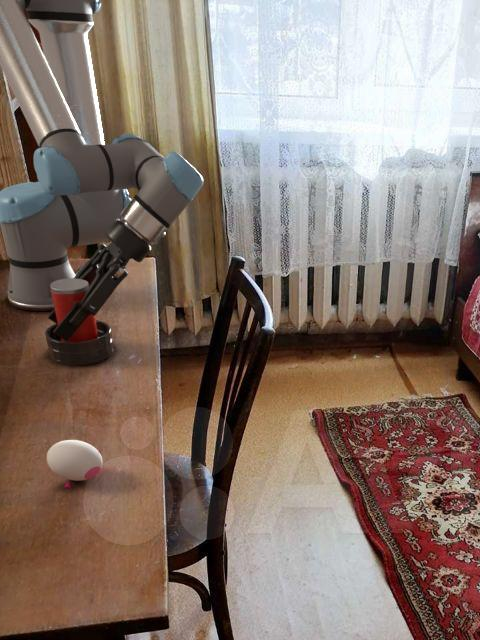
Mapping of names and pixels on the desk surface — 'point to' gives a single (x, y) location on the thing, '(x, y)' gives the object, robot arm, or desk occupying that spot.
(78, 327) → the robot arm
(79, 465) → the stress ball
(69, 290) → the tomato can
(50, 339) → the skillet
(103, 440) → the desk surface
